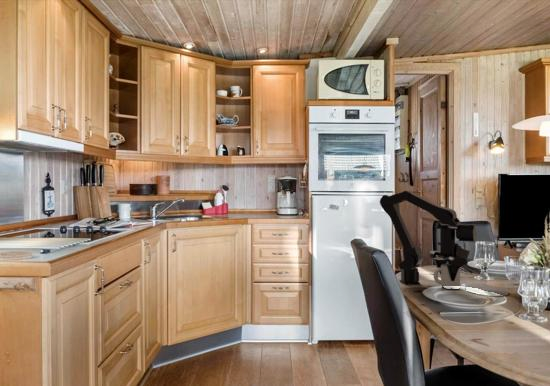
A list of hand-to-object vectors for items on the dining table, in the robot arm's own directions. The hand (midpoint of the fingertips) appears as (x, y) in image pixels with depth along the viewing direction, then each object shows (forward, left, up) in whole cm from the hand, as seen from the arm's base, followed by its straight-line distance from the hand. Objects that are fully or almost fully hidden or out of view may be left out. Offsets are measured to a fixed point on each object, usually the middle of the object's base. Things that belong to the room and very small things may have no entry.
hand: (447, 278), depth 166 cm
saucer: (+12, -7, -4) cm, 14 cm away
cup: (0, +1, -4) cm, 4 cm away
